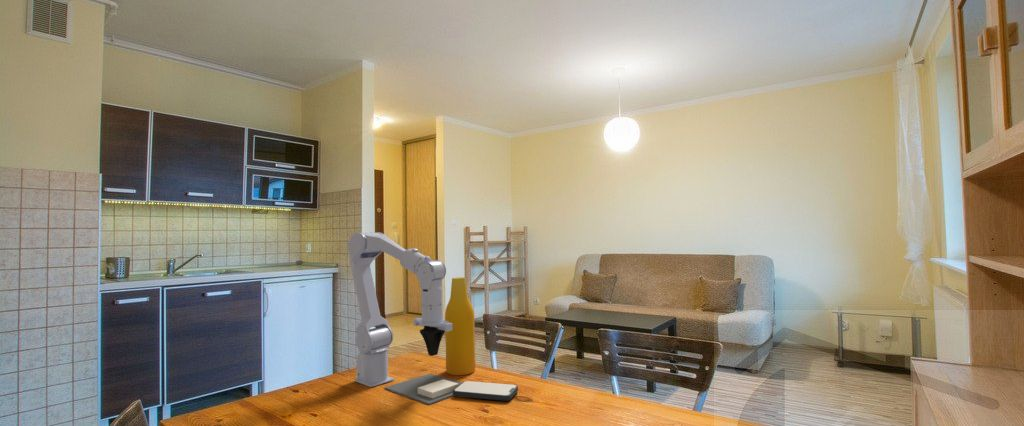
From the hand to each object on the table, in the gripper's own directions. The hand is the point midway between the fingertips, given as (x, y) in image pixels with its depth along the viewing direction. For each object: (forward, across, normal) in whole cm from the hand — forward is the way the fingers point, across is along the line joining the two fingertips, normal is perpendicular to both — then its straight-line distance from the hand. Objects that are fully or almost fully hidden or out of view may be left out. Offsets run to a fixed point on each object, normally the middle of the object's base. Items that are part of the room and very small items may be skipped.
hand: (433, 354), depth 125 cm
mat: (+10, -3, +1) cm, 10 cm away
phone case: (+10, +13, +7) cm, 18 cm away
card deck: (+9, -1, 0) cm, 9 cm away
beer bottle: (+10, -8, +17) cm, 21 cm away
